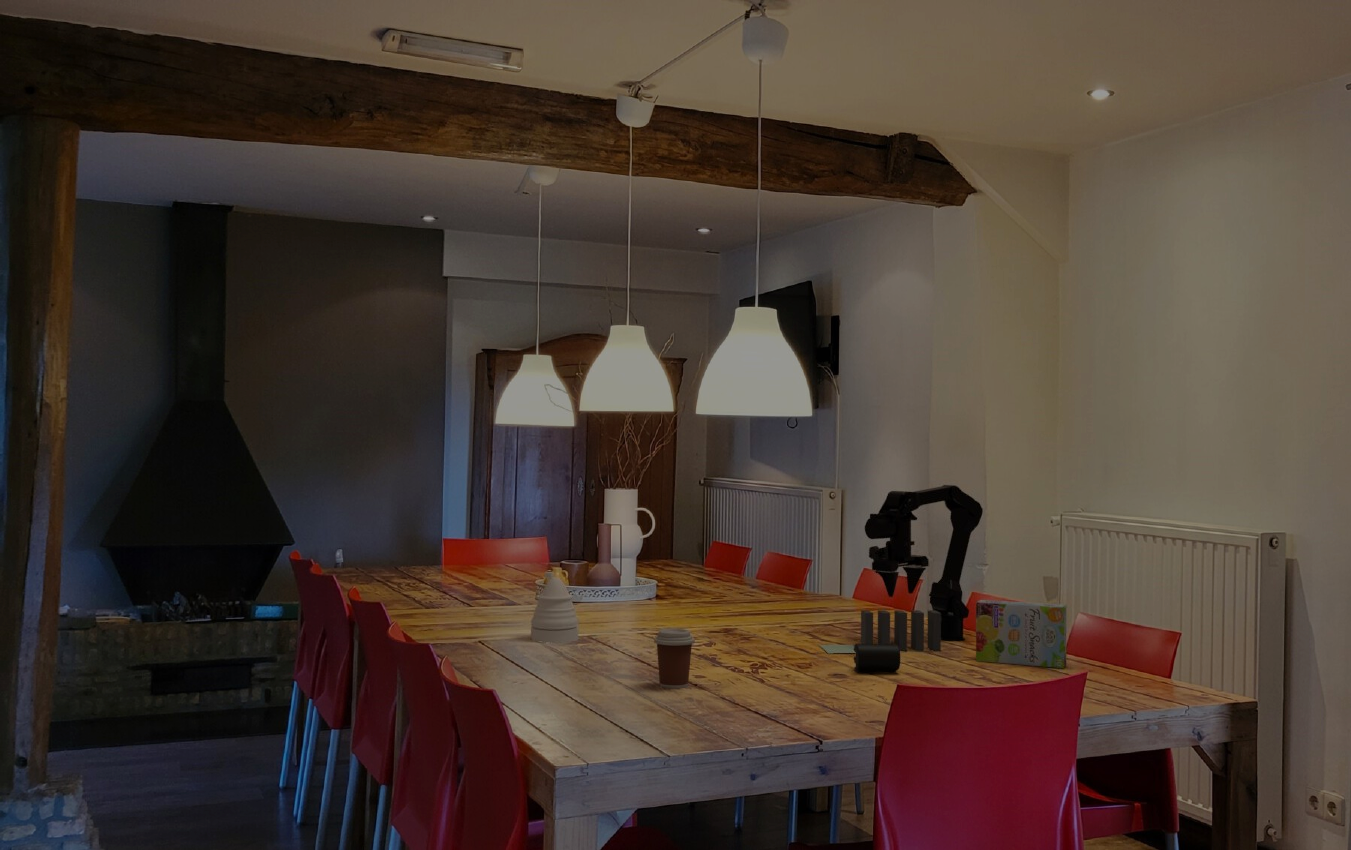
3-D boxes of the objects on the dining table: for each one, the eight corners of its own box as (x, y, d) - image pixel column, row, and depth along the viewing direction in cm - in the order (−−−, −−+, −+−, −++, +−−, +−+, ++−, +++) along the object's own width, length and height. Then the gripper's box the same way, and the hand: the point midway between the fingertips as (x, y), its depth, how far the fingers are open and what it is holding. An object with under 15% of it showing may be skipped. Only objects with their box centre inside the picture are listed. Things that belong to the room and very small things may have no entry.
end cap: (858, 675, 263) (858, 646, 264) (852, 669, 270) (852, 640, 271) (900, 675, 264) (900, 646, 264) (893, 669, 271) (893, 640, 271)
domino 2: (902, 648, 300) (902, 610, 300) (907, 651, 295) (907, 613, 295) (894, 648, 300) (894, 610, 300) (899, 651, 295) (899, 613, 295)
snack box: (1066, 665, 278) (1067, 603, 279) (1064, 669, 273) (1064, 606, 273) (978, 657, 287) (979, 598, 287) (974, 661, 282) (975, 600, 282)
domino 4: (935, 647, 300) (935, 610, 301) (941, 651, 295) (941, 613, 296) (927, 648, 300) (927, 610, 300) (933, 651, 295) (933, 612, 295)
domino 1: (885, 648, 299) (885, 610, 300) (890, 651, 294) (890, 613, 295) (877, 648, 299) (877, 610, 299) (882, 651, 294) (882, 613, 294)
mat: (852, 645, 302) (852, 644, 302) (862, 653, 290) (862, 652, 290) (818, 645, 302) (818, 644, 302) (828, 654, 290) (828, 652, 290)
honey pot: (522, 640, 305) (523, 573, 305) (545, 633, 317) (546, 569, 317) (564, 644, 300) (565, 576, 300) (586, 637, 312) (587, 571, 312)
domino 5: (868, 648, 299) (869, 610, 299) (873, 651, 294) (873, 613, 294) (860, 648, 299) (861, 610, 299) (865, 651, 294) (865, 613, 294)
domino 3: (918, 648, 300) (919, 610, 300) (924, 651, 295) (924, 612, 295) (910, 648, 300) (911, 610, 300) (916, 651, 295) (916, 613, 295)
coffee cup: (680, 691, 243) (681, 635, 243) (645, 686, 248) (645, 631, 248) (702, 684, 251) (702, 629, 251) (667, 679, 256) (668, 626, 256)
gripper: (895, 533, 319) (896, 588, 319) (855, 537, 306) (855, 595, 306) (929, 535, 311) (929, 592, 310) (889, 540, 298) (889, 599, 298)
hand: (900, 595), depth 306 cm, fingers open, 9 cm apart
